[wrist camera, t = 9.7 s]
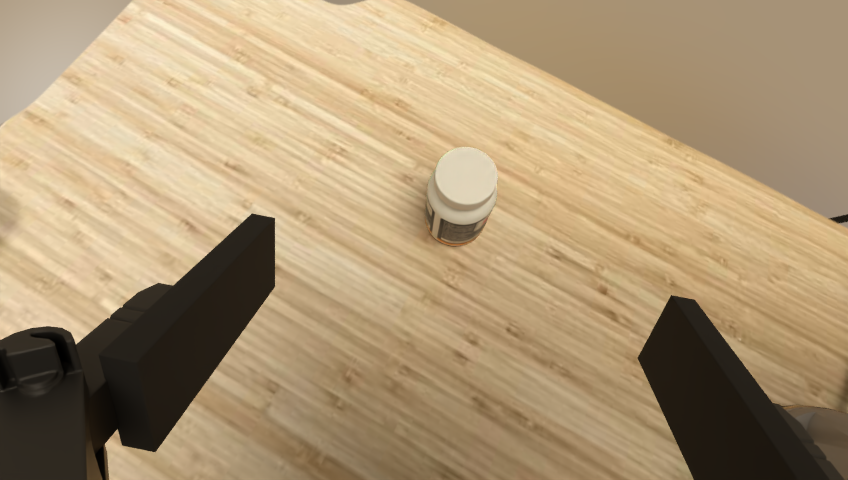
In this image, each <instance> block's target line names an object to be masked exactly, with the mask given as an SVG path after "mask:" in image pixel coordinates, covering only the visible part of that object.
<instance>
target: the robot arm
mask: <svg viewBox="0 0 848 480" xmlns="http://www.w3.org/2000/svg"><path fill="white" fill-rule="evenodd" d="M828 219H829V220H832V221H833V222H836V223H838V224H839V223H844V222H848V214H846V215H842V216H838V217H833V218H828ZM274 287H275V218H272V217H266V216H261V215H256V214H251V215H250V216H249V217H248V218H247V219H246V220H245V221H243V222H242V223H241V224H240V225H239V226H238V227H237V228H236V229H235V230H234V231H233V232H231V233H230V234H229V235H228V236H227V237H226V238H225V239H224V240H223V241H222V242H221V243H219V244H218V245H217V246H216V247H215V248H214V249H213V250H212V251H211V252H210V253H209V254H207V255H206V256H205V257H204V258H203V259H202V260H201V261H200V262H199V263H198V264H197V265H195V266H194V267H193V268H192V269H191V270H190V271H189V272H188V273H187V274H186V275H185V276H183V277H182V278H181V279H180V280H179V281H178V282H177V283H176V284H175V285H174V286H171V285H166V284H161V283H158V284H155V285H153V286H151V287H149V288H147V289H145V290H142V291H140V292H138V293H137V294H136V295H135V296H133V297H132V298H131V299H130V300H129V301H127V302H126V303H125V304H124V305H123V307H122V308H119V309H118V310H117V311H116V312H114V313H113V314H112V315H111V317H110V319H109V318H107V319H106V320H105V321H104V322H102V323H101V324H100V325H99V326H98V327H97V328H95V329H94V330H93V331H92V332H91V333H89V334H88V335H87V336H86V337H85V338H83V339H82V340H81V341H80V342H79V343H77V344H75V341H74V338H73V336H72V334H71V332H69V331H67V330H65V329H63V328H58V327H49V326H47V327H38V328H31V329H27V330H24V331H20V332H17V333H14V334H12V335H10V336H8V337H6V338H4V339H2V340H0V480H109V473H108V460H107V451H106V447H105V443H106V442H107V441H108V439H109V438H110V437H111V436H112V435H113V433H114V432H115V431H116V430H117V429H118V431H119V435H120V439H121V443H122V445H123V446H128V447H132V448H137V449H142V450H147V451H152V452H156V451H157V449H158V448H159V446H160V445H161V444H162V442H163V441H164V439H165V438H166V437H167V435H168V434H169V433H170V431H171V430H172V428H173V427H174V426H175V424H176V423H177V421H178V420H179V419H180V417H181V416H182V415H183V413H184V412H185V410H186V409H187V408H188V406H189V405H190V403H191V402H192V401H193V399H194V398H195V397H196V395H197V394H198V392H199V391H200V390H201V388H202V387H203V385H204V384H205V383H206V381H207V380H208V379H209V377H210V376H211V374H212V373H213V372H214V370H215V369H216V367H217V366H218V365H219V363H220V362H221V361H222V359H223V358H224V356H225V355H226V354H227V352H228V351H229V349H230V348H231V347H232V345H233V344H234V343H235V341H236V340H237V338H238V337H239V336H240V334H241V333H242V331H243V330H244V329H245V327H246V326H247V325H248V323H249V322H250V320H251V319H252V318H253V316H254V315H255V313H256V312H257V311H258V309H259V308H260V307H261V305H262V304H263V302H264V301H265V300H266V298H267V297H268V295H269V294H270V293H271V291H272V290H273V289H274ZM638 360H639V362H640V364H641V366H642V369H643V371H644V373H645V375H646V377H647V379H648V381H649V384H650V386H651V388H652V390H653V392H654V394H655V397H656V399H657V401H658V403H659V405H660V407H661V409H662V412H663V414H664V416H665V418H666V420H667V422H668V425H669V427H670V429H671V431H672V433H673V435H674V437H675V440H676V442H677V444H678V446H679V448H680V450H681V453H682V455H683V457H684V459H685V461H686V463H687V465H688V468H689V470H690V472H691V474H692V476H693V478H694V480H848V414H846V413H843V412H839V411H836V410H832V409H827V408H820V407H811V406H786V407H781V406H780V405H779V404H774V403H772V402H771V401H770V399H769V398H768V397H767V395H766V394H765V393H764V391H763V390H762V389H761V387H760V386H759V385H758V383H757V382H756V381H755V379H754V378H753V377H752V375H751V374H750V373H749V371H748V370H747V369H746V367H745V366H744V365H743V363H742V362H741V361H740V359H739V358H738V357H737V355H736V354H735V353H734V351H733V350H732V349H731V347H730V346H729V345H728V343H727V342H726V341H725V339H724V338H723V337H722V335H721V334H720V333H719V332H718V330H717V329H716V328H715V326H714V325H713V324H712V322H711V321H710V320H709V318H708V317H707V316H706V314H705V313H704V312H703V310H702V309H701V308H700V306H699V305H698V304H697V302H696V301H695V300H692V299H687V298H682V297H677V296H672V295H671V297H670V299H669V301H668V302H667V304H666V306H665V308H664V310H663V312H662V314H661V315H660V317H659V319H658V321H657V323H656V325H655V327H654V328H653V330H652V332H651V334H650V336H649V338H648V340H647V342H646V343H645V345H644V347H643V349H642V351H641V353H640V355H639V356H638Z"/></svg>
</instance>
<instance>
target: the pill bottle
mask: <svg viewBox="0 0 848 480" xmlns="http://www.w3.org/2000/svg"><path fill="white" fill-rule="evenodd" d="M497 181H498V173H497V169H496V166H495V164H494V162H493V161H492V159H491V158H490V157H489V156H488V155H487V154H486V153H484V152H483V151H481V150H479V149H476V148H472V147H458V148H455V149H452V150H450V151H448V152H447V153H445V154H444V155H443V156H442V157H441V158H440V160H439V161H438V163H437V166H436V169H435V170H434V171H433V173H432V174H431V176H430V178H429V181H428V185H427V194H426V208H425V221H426V225H427V228H428V230H429V232H430V233H431V234H432V236H433V237H434V238H435V239H437V240H438V241H440V242H441V243H443V244H446V245H450V246H461V245H465V244H468V243H470V242H472V241H473V240H475V239H476V238H477V237H478V236H479V234H480V233H481V231H482V230H483V228H484V226H485V224H486V222H487V219H488V217H489V215H490V213H491V211H492V209H493V207H494V205H495V203H496V199H497Z"/></svg>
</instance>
